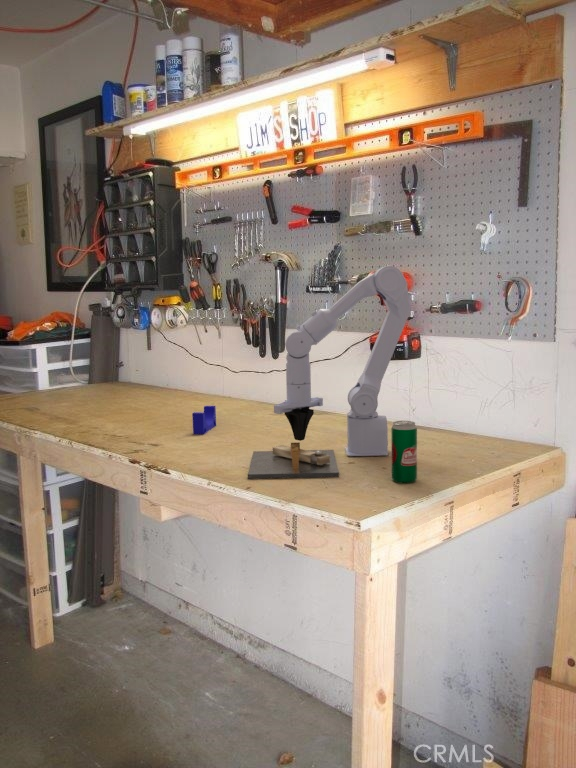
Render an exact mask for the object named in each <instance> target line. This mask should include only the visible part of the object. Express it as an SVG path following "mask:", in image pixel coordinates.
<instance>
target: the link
mask: <svg viewBox="0 0 576 768" xmlns="http://www.w3.org/2000/svg"><path fill="white" fill-rule="evenodd" d="M272 451H273V454H274V455H278V456H283V457H287V458H291V459H292V455H291V446H288V445H283V444H281V445H278V446H277V445H276V446H274V447H272ZM321 454H322V455H315V452H312V451H307V449H302V448H300V455H299V460H300V461H304V462H309V463H311V464H318V465H323V464H326V463H330V455H326V454H323V453H321Z"/></svg>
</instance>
